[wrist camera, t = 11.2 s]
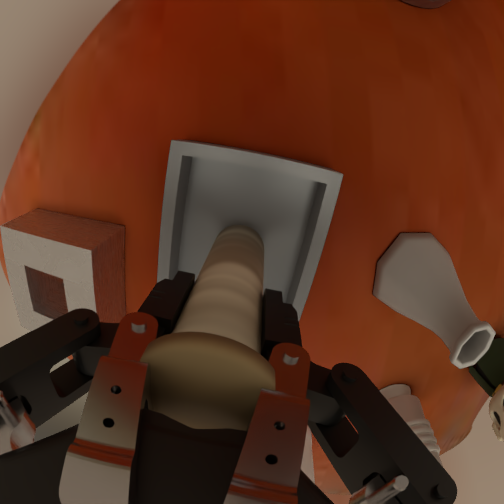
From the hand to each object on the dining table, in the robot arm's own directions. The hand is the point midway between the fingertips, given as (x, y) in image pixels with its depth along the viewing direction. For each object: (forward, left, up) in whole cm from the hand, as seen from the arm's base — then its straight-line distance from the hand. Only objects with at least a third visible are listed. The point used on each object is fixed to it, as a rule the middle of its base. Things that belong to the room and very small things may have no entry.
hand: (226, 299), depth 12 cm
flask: (0, +14, -9) cm, 16 cm away
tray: (0, 0, -8) cm, 8 cm away
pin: (0, 0, -6) cm, 6 cm away
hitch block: (+6, -14, -8) cm, 17 cm away
